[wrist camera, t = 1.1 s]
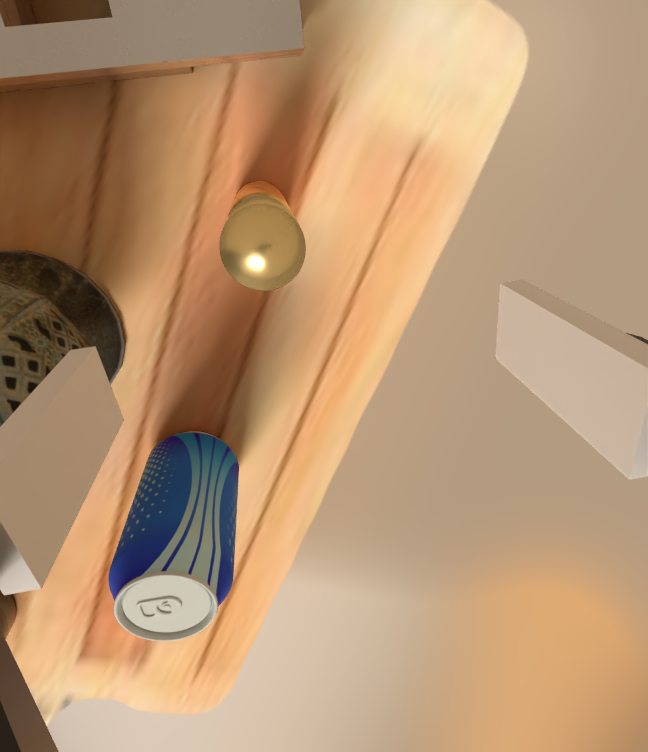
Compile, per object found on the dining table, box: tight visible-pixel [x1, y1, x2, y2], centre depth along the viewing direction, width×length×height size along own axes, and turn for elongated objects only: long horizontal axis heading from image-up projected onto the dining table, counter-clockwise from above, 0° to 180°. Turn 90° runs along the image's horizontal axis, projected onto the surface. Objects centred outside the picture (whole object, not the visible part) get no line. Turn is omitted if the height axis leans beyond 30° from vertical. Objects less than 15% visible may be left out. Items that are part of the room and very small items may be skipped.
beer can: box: [109, 431, 239, 641], centre depth 37 cm, size 8×8×16 cm
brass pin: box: [220, 181, 306, 291], centre depth 28 cm, size 4×4×15 cm
